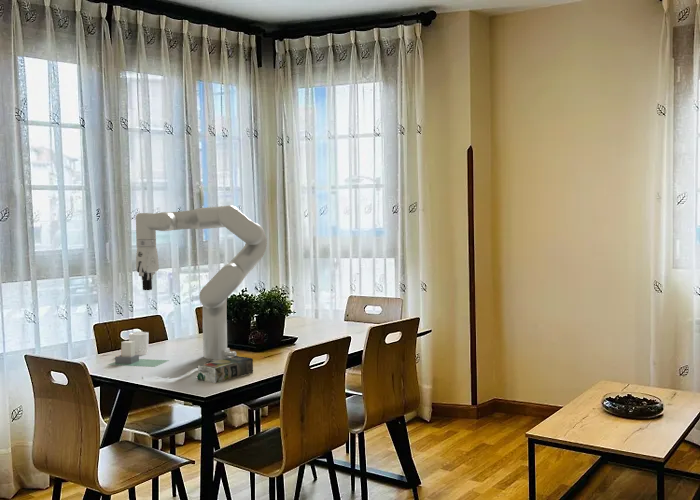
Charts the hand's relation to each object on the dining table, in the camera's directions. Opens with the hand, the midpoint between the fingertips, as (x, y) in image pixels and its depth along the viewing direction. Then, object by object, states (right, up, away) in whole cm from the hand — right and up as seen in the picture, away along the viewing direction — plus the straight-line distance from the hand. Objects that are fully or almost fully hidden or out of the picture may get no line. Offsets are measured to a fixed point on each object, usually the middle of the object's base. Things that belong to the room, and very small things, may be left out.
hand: (147, 289), depth 279 cm
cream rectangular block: (-6, -28, -5) cm, 29 cm away
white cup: (-7, -29, +11) cm, 32 cm away
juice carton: (+35, -31, -25) cm, 53 cm away
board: (-2, -30, -6) cm, 30 cm away
